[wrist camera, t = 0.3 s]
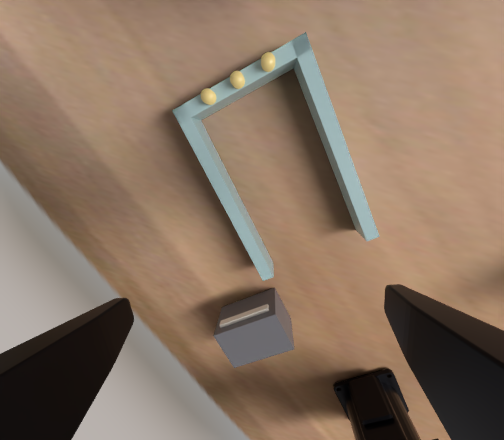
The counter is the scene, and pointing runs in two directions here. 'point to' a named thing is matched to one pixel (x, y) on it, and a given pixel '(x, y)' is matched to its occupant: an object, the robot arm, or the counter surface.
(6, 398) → the robot arm
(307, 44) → the u-shaped coat rack
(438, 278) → the counter surface
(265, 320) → the plug block
